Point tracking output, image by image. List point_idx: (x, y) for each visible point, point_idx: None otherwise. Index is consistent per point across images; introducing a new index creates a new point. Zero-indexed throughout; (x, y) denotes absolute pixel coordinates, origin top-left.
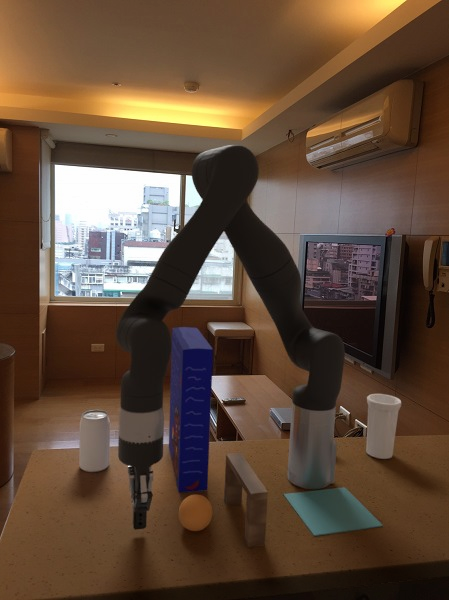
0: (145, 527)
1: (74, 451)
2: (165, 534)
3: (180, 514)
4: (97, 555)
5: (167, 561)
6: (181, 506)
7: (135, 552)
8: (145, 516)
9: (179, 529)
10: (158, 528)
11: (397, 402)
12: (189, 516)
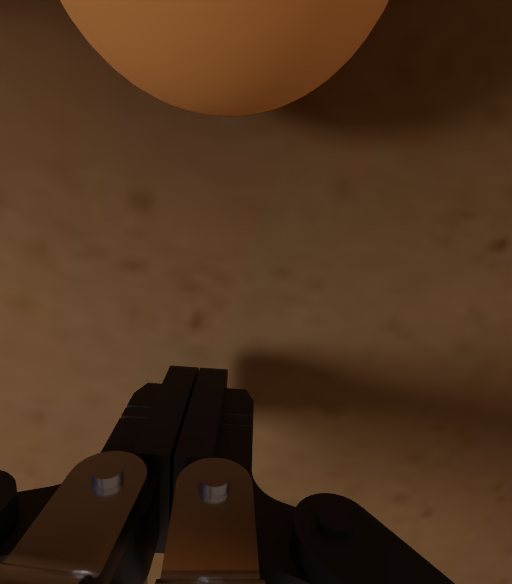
0: (227, 370)
1: None
2: (247, 226)
3: (256, 108)
4: None
5: (501, 274)
6: (209, 74)
7: (357, 415)
8: (220, 418)
9: (218, 118)
10: (173, 255)
11: None
12: (369, 24)
